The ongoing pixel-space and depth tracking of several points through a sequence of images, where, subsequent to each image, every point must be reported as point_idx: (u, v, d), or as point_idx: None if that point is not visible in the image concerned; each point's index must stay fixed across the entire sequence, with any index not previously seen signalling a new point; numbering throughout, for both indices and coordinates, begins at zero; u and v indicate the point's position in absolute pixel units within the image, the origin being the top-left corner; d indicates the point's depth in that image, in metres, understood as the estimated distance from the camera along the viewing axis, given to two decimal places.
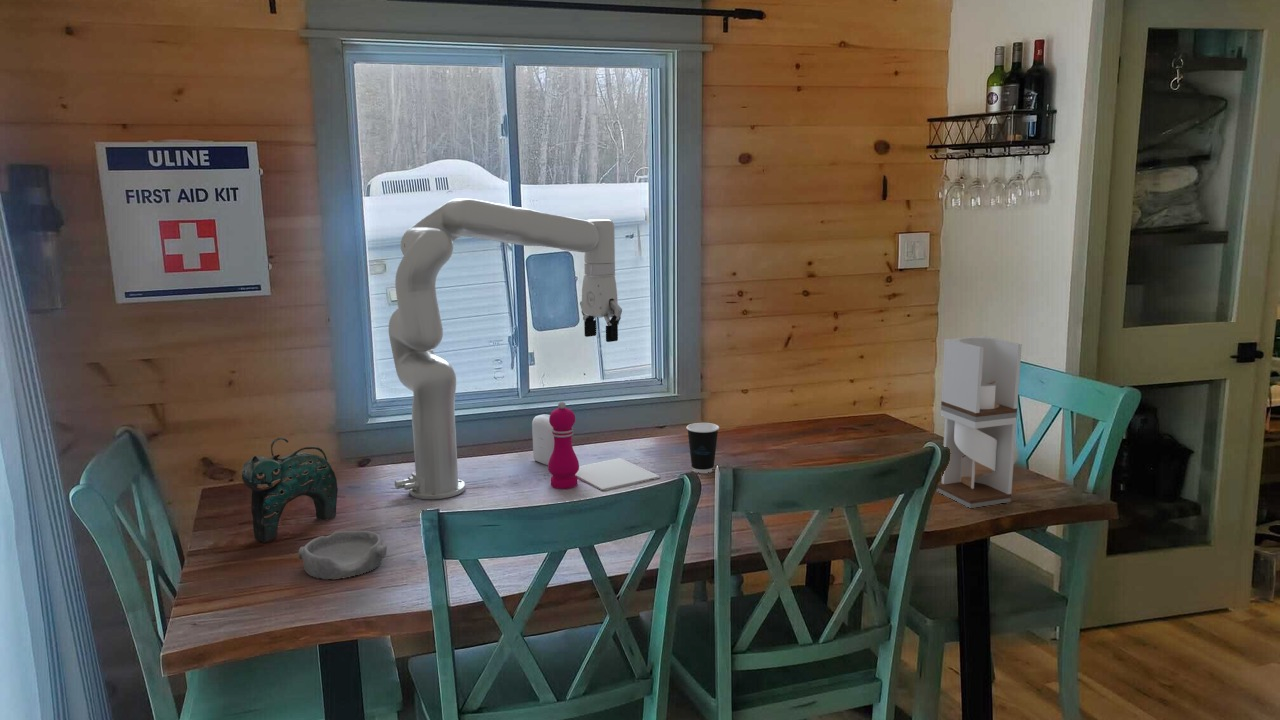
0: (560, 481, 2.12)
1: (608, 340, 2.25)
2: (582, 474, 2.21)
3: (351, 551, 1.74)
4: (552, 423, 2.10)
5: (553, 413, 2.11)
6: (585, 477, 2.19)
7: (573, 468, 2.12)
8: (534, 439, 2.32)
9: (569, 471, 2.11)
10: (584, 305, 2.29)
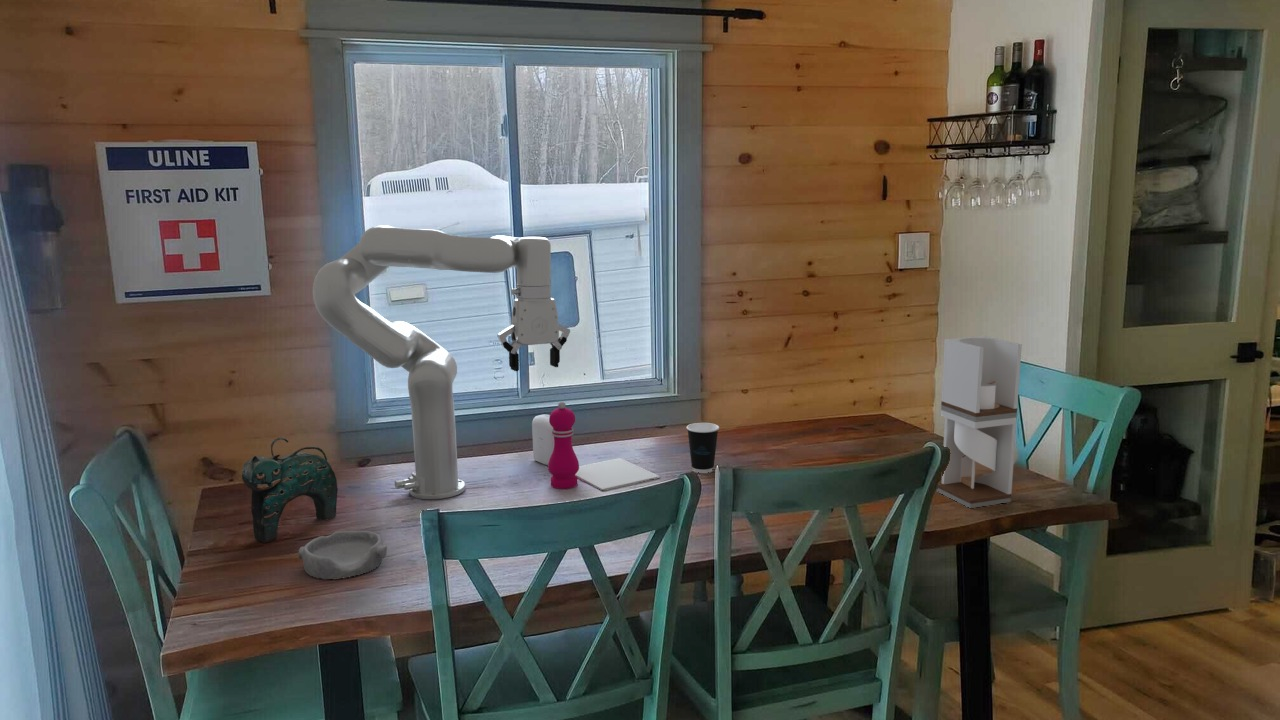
0: (560, 481, 2.12)
1: None
2: (582, 474, 2.21)
3: (351, 551, 1.74)
4: (552, 423, 2.10)
5: (553, 413, 2.11)
6: (585, 477, 2.19)
7: (573, 468, 2.12)
8: (534, 439, 2.32)
9: (569, 471, 2.11)
10: (526, 334, 2.03)
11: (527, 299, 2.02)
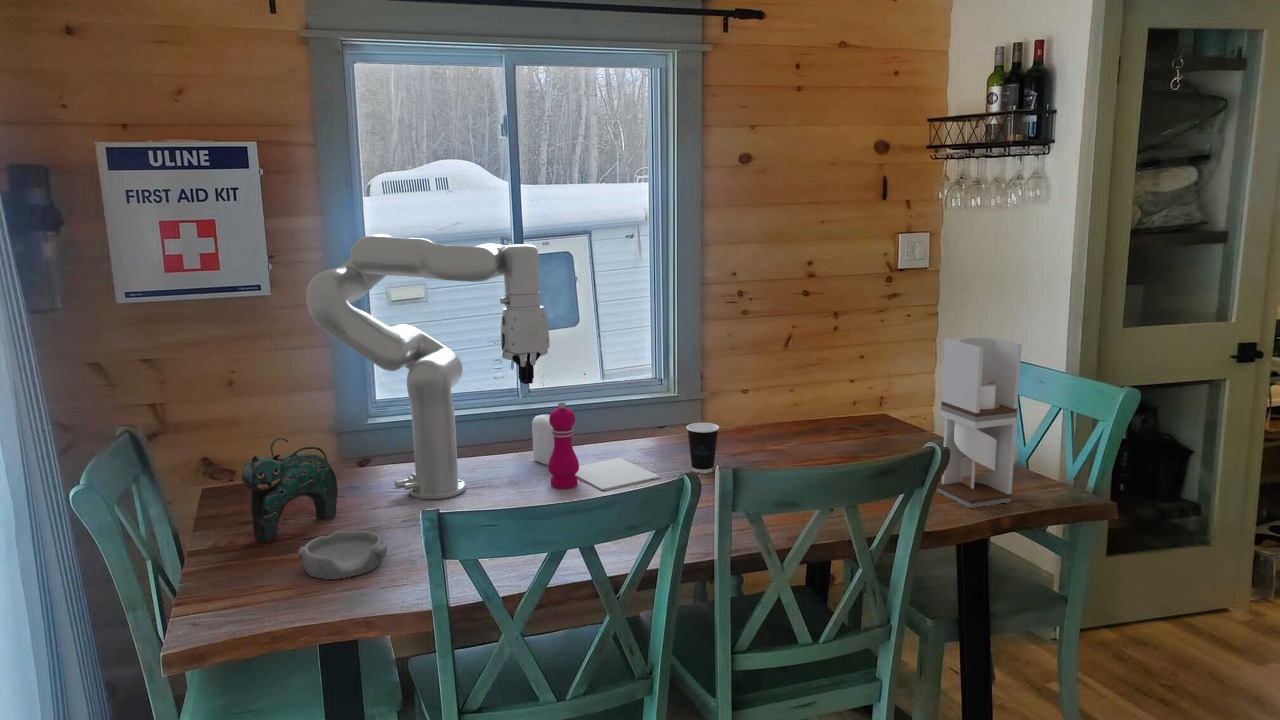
0: (560, 481, 2.12)
1: None
2: (582, 474, 2.21)
3: (351, 551, 1.74)
4: (552, 423, 2.10)
5: (553, 413, 2.11)
6: (585, 477, 2.19)
7: (573, 468, 2.12)
8: (534, 439, 2.32)
9: (569, 471, 2.11)
10: (517, 344, 2.00)
11: (517, 308, 1.99)
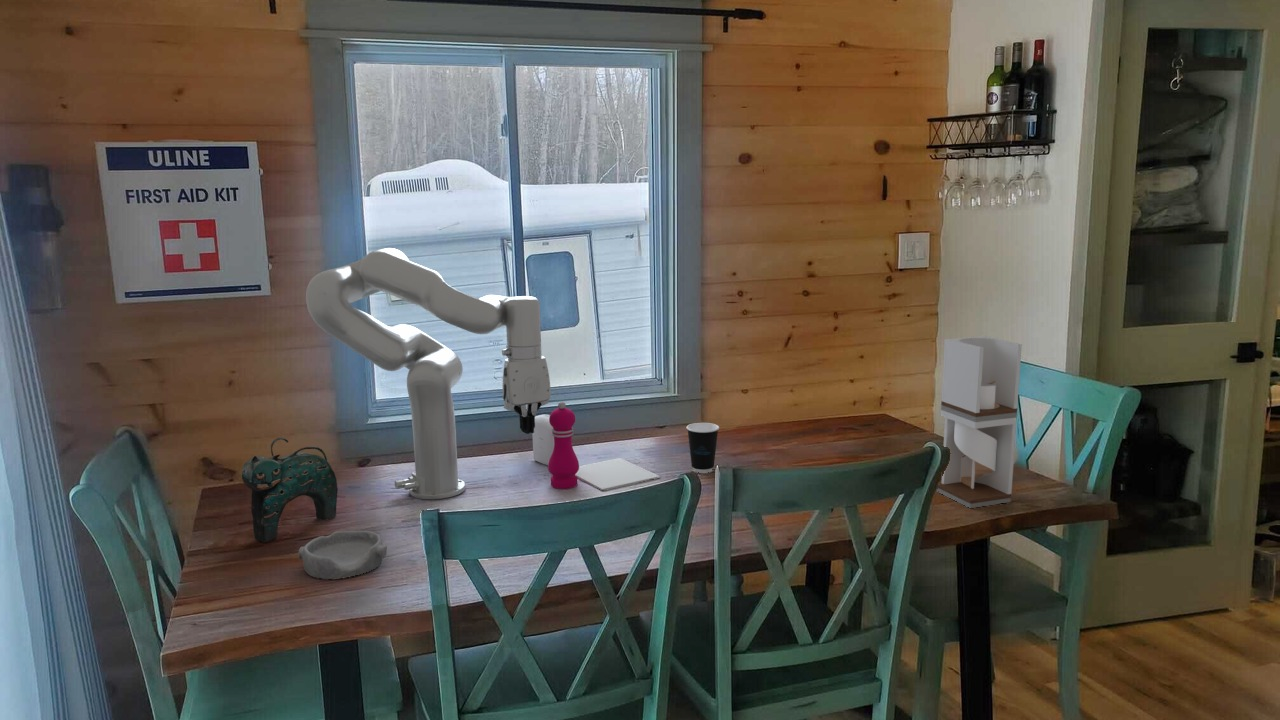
0: (560, 481, 2.12)
1: None
2: (582, 474, 2.21)
3: (351, 551, 1.74)
4: (552, 423, 2.10)
5: (553, 413, 2.11)
6: (585, 477, 2.19)
7: (573, 468, 2.12)
8: (534, 439, 2.32)
9: (569, 471, 2.11)
10: (519, 395, 2.02)
11: (518, 360, 2.01)
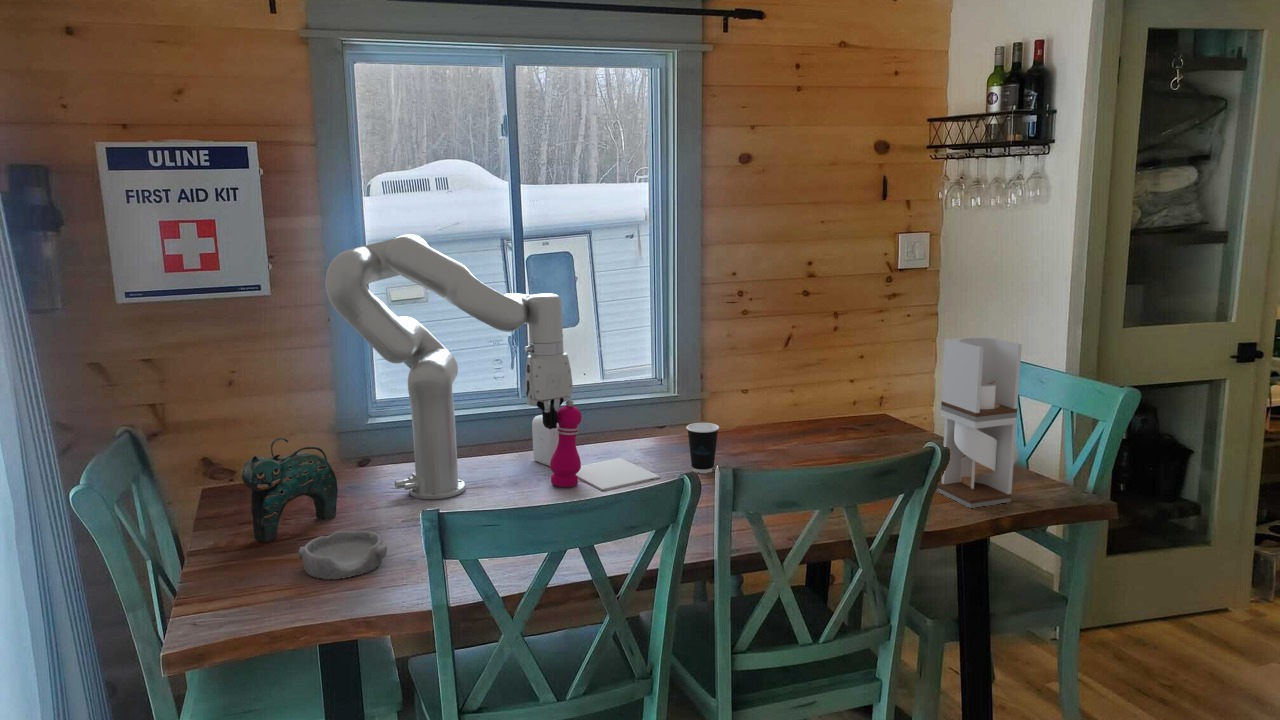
0: (561, 479, 2.12)
1: None
2: (582, 474, 2.21)
3: (351, 551, 1.74)
4: (558, 420, 2.11)
5: (560, 410, 2.12)
6: (585, 477, 2.19)
7: (575, 466, 2.12)
8: (534, 439, 2.32)
9: (570, 469, 2.12)
10: (542, 391, 2.05)
11: (541, 356, 2.04)
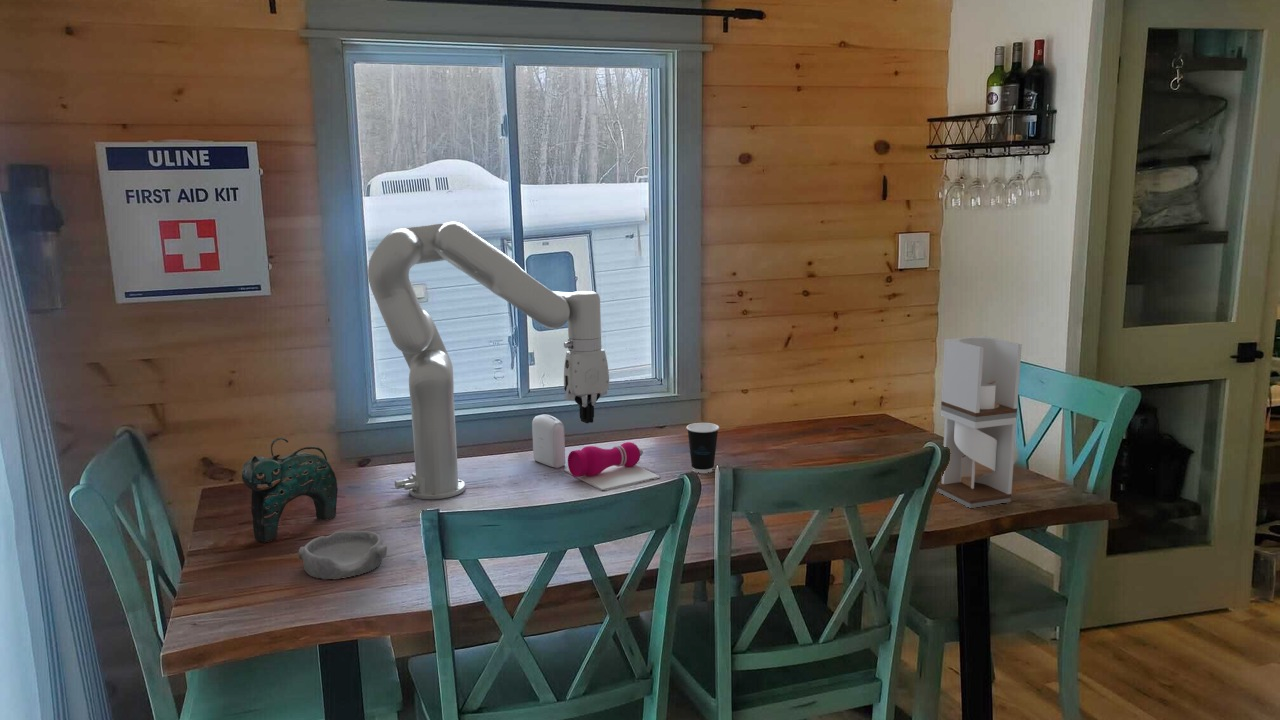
0: (584, 453, 2.17)
1: None
2: None
3: (351, 551, 1.74)
4: (627, 442, 2.26)
5: None
6: (585, 477, 2.19)
7: (599, 463, 2.17)
8: (534, 439, 2.32)
9: (597, 458, 2.17)
10: (580, 386, 2.10)
11: (580, 352, 2.09)
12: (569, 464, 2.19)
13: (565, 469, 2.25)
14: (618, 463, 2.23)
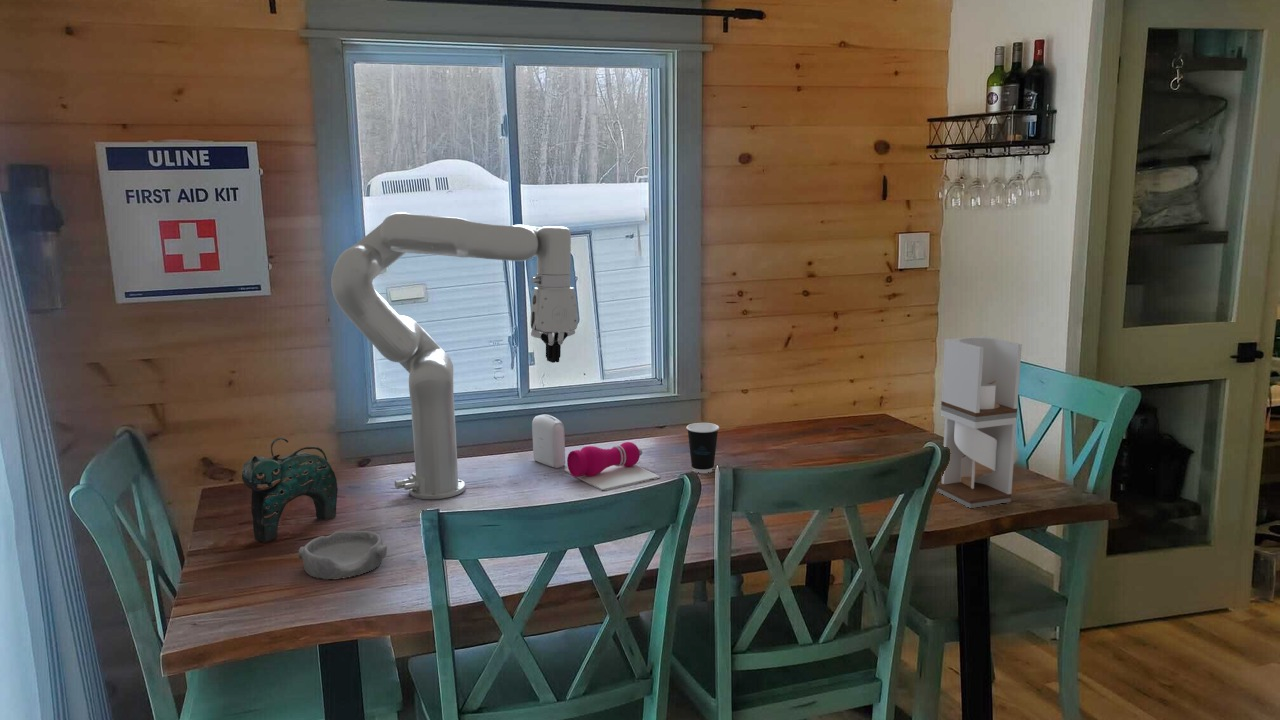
0: (583, 453, 2.17)
1: None
2: None
3: (351, 551, 1.74)
4: (626, 442, 2.26)
5: None
6: (585, 477, 2.19)
7: (599, 462, 2.17)
8: (534, 439, 2.32)
9: (596, 457, 2.17)
10: (546, 322, 2.06)
11: (548, 287, 2.04)
12: (569, 465, 2.20)
13: (565, 469, 2.25)
14: (618, 463, 2.23)
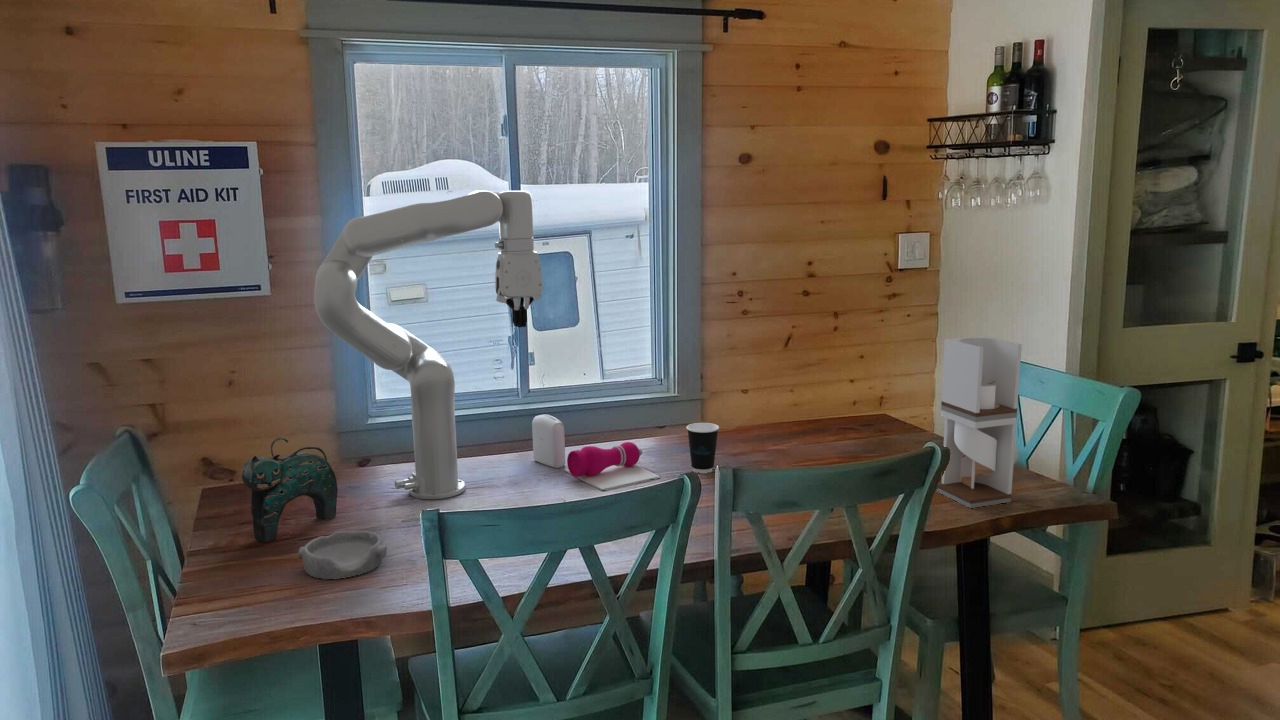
0: (583, 453, 2.17)
1: None
2: None
3: (351, 551, 1.74)
4: (626, 442, 2.26)
5: None
6: (585, 477, 2.19)
7: (599, 462, 2.17)
8: (534, 439, 2.32)
9: (596, 457, 2.17)
10: (511, 287, 2.06)
11: (511, 252, 2.05)
12: (569, 465, 2.20)
13: (565, 469, 2.25)
14: (618, 463, 2.23)
